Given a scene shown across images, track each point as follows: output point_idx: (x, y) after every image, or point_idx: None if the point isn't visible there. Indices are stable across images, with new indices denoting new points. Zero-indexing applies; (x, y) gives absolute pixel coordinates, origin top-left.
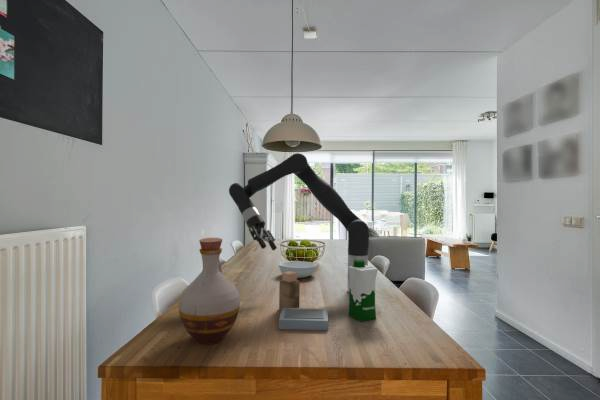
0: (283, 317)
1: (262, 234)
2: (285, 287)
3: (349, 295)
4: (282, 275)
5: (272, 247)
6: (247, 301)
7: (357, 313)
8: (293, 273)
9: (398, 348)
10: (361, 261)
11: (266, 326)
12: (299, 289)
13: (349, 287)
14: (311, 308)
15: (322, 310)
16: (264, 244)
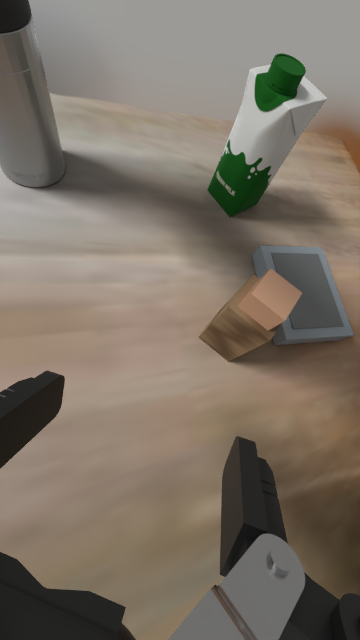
0: (340, 327)
1: (219, 605)
2: None
3: (256, 181)
4: (278, 323)
5: (42, 417)
6: (183, 487)
7: (259, 198)
8: (283, 279)
9: (329, 184)
10: (293, 62)
11: (337, 368)
12: (240, 288)
13: (44, 173)
14: None
15: (277, 253)
16: (254, 459)
